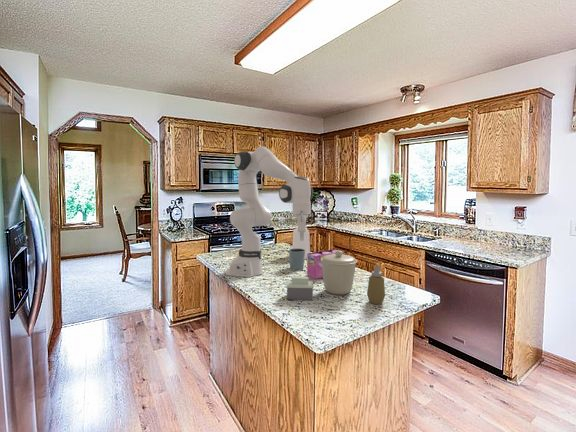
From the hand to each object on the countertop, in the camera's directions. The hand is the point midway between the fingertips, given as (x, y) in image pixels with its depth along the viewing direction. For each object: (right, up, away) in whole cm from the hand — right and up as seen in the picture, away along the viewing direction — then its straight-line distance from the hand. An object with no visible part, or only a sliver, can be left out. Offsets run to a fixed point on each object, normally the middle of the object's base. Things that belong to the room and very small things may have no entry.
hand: (301, 238), depth 162 cm
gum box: (+16, -24, +37) cm, 47 cm away
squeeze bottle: (+34, -29, -8) cm, 45 cm away
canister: (+19, -27, +7) cm, 34 cm away
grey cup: (-1, -22, +50) cm, 55 cm away
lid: (-1, -22, -2) cm, 22 cm away
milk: (+3, -19, +80) cm, 82 cm away
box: (-1, -28, -2) cm, 28 cm away
